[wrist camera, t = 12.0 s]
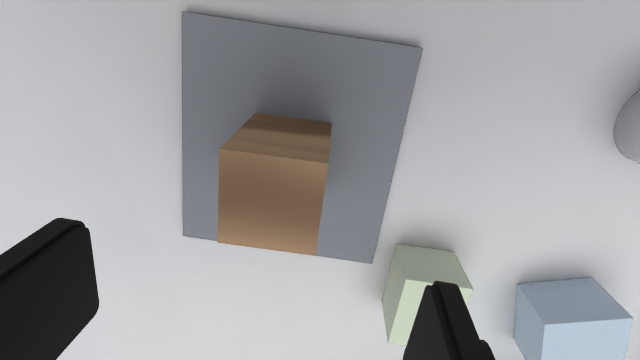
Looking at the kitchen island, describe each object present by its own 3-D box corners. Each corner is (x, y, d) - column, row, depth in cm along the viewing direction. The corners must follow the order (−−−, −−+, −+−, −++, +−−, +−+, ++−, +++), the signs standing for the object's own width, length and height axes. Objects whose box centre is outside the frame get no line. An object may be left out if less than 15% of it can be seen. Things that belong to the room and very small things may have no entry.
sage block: (396, 242, 25) (405, 279, 22) (453, 250, 25) (473, 289, 22) (381, 300, 27) (388, 342, 23) (435, 307, 27) (450, 351, 24)
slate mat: (186, 11, 20) (181, 11, 20) (420, 47, 20) (422, 48, 20) (186, 231, 26) (182, 235, 25) (371, 258, 26) (372, 263, 25)
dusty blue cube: (515, 282, 26) (544, 324, 22) (591, 276, 26) (633, 318, 22) (512, 336, 28) (538, 383, 24) (582, 331, 27) (620, 378, 24)
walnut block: (255, 112, 22) (219, 148, 15) (331, 122, 22) (328, 163, 15) (251, 182, 23) (217, 242, 17) (322, 192, 23) (315, 255, 17)
